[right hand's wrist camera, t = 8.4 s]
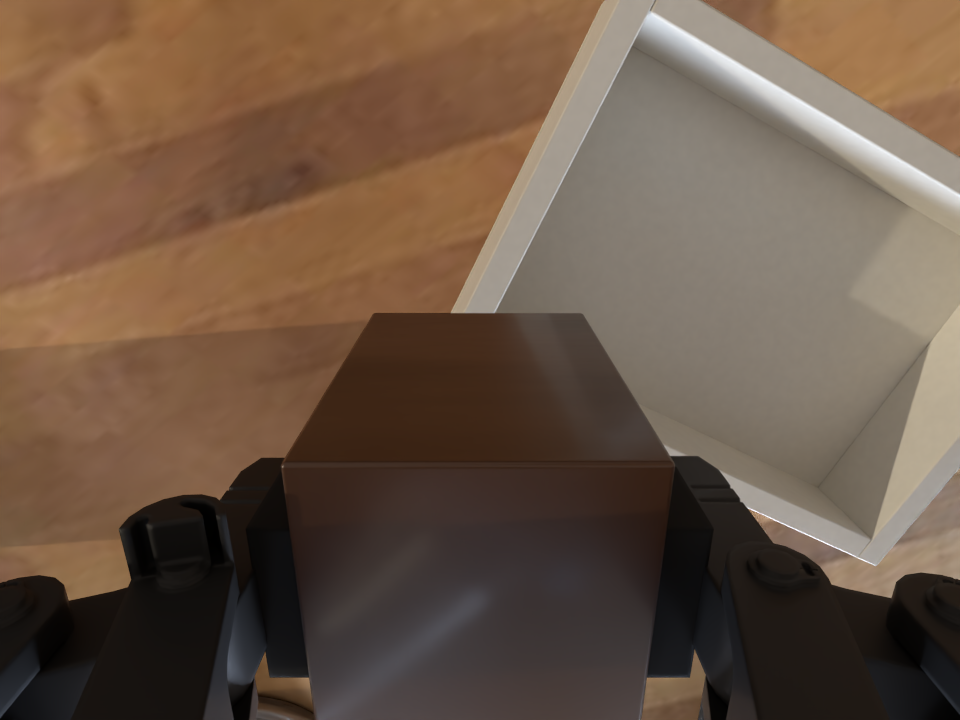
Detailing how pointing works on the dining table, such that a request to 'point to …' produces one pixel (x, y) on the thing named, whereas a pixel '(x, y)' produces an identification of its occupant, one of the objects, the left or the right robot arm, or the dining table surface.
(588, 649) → the walnut block
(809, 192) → the tray
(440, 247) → the dining table surface
